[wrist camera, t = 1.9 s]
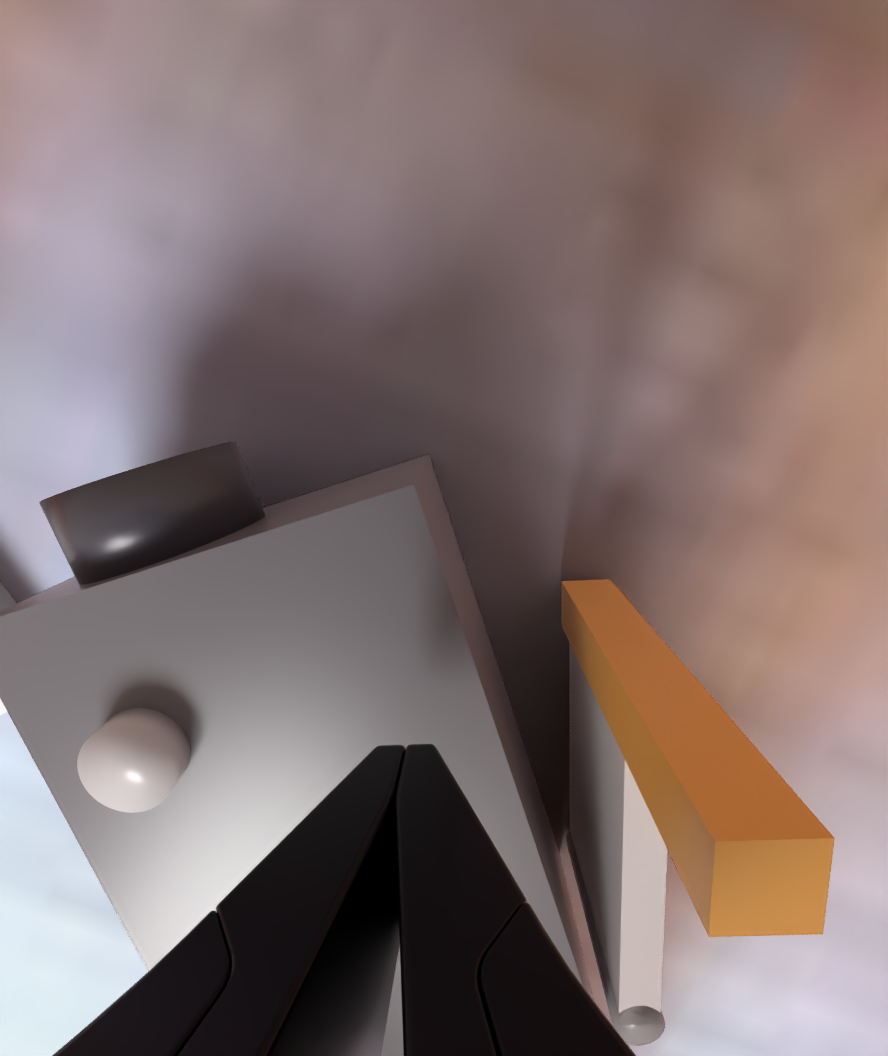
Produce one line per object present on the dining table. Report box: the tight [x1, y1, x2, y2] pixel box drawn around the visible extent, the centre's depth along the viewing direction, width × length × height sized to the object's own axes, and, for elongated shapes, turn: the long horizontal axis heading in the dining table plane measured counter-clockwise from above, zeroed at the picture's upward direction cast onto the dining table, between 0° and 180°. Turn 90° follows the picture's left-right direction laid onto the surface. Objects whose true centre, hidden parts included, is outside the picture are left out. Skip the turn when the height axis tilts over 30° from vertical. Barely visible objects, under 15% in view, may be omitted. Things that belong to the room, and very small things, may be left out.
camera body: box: [0, 442, 593, 1056], centre depth 12 cm, size 14×8×6 cm, turn 18°
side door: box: [561, 579, 834, 1045], centre depth 11 cm, size 8×1×8 cm, turn 3°
